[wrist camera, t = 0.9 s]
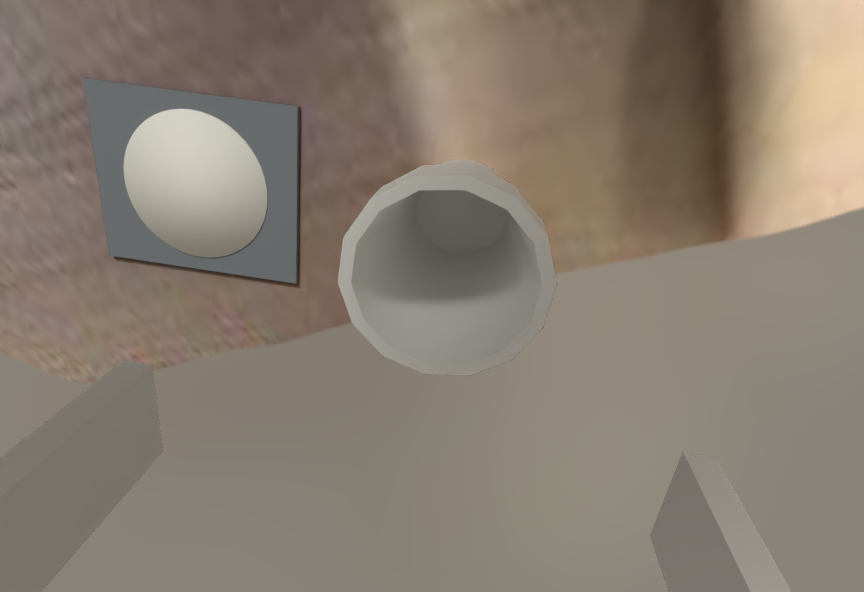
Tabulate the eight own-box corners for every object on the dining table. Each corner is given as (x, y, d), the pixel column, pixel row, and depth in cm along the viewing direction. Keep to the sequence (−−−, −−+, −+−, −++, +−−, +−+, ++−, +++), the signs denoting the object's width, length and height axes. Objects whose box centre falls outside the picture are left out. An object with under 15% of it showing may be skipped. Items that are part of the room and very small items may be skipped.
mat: (87, 78, 34) (82, 78, 34) (299, 106, 33) (297, 107, 33) (112, 253, 39) (108, 255, 39) (298, 281, 38) (295, 284, 38)
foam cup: (473, 300, 37) (462, 410, 25) (365, 220, 36) (300, 298, 24) (566, 194, 34) (603, 266, 22) (450, 101, 32) (422, 123, 20)
